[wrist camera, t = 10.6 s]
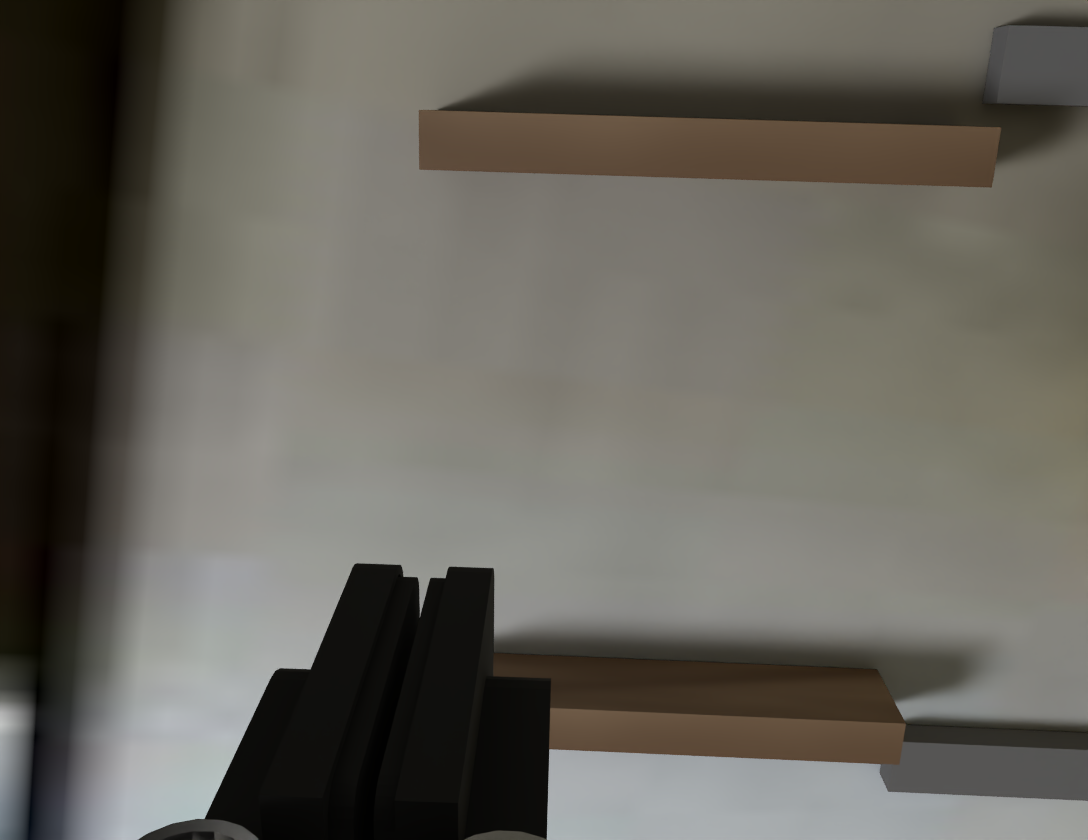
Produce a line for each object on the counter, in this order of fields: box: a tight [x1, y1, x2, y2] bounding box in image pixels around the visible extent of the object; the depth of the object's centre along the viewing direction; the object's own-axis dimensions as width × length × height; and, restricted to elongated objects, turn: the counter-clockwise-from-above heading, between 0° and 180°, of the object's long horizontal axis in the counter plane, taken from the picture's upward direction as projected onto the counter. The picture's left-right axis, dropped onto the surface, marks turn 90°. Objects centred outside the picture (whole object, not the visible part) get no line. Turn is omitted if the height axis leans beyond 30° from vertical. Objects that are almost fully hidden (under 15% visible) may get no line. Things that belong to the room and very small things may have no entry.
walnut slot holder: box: [419, 110, 1001, 765], centre depth 24 cm, size 15×12×2 cm
